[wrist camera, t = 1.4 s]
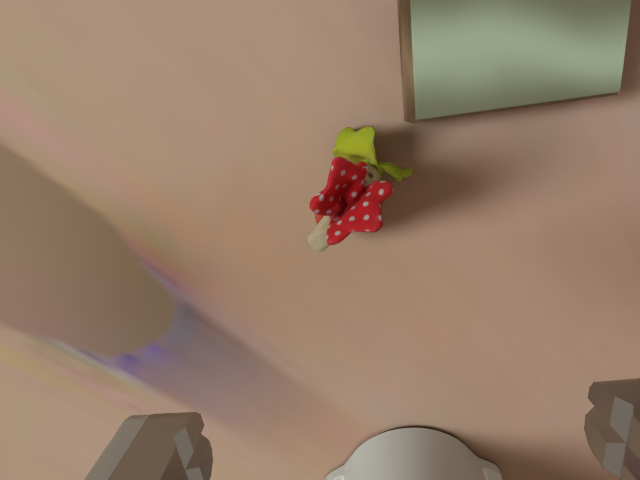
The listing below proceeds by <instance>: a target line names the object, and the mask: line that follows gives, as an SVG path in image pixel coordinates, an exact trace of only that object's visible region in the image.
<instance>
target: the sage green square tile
mask: <svg viewBox="0 0 640 480" xmlns="http://www.w3.org/2000/svg"><path fill="white" fill-rule="evenodd" d="M397 1H398V18H399V36H400V53H401V71H402V88H403V106H404V121H407V122H411V123H417V122H424V121H431V120H439V119H446V118H453V117H460V116H467V115H475V114H482V113H489V112H496V111H504V110H511V109H518V108H525V107H533V106H540V105H547V104H554V103H561V102H569V101H576V100H583V99H590V98H598V97H605V96H612V95H617V93H618V92H620V87H621V79H622V72H623V64H624V56H625V48H626V40H627V32H628V25H629V17H630V9H631V1H632V0H397Z"/></svg>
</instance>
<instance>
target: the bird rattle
mask: <svg viewBox="0 0 640 480" xmlns="http://www.w3.org/2000/svg"><path fill="white" fill-rule="evenodd" d="M375 134H376V131H375V129H374V128H373V127H364V128H362V129H360V130H358V131H357V132H356V131H355V130H354V129H353V128H351V127H347V128H345V129H343V130H342V131H340V133H339V135H338V137H337V140H336V144H335V148H334V149H333V151H332V152H333V154H334V156H335V157H336V158H334V159H333V161H332V164H331V169H330V173H329V177H328V181H327V186H326V187H325V189H324V190H323V191H321V192H320V193H318V194H316V195H315V196H314V197H313V198H312V199H311V201H310V209H311V210H312V211H313V212H314V213H315V219H316V221H317V224H316V226H315V227H314V228H313V230H312V231H311V232H310V234H309V236H308V238H307V243H308V244H309V245H310V246H311V247H312V248H313V249H315V250H316V251H319V252H321V251H323V250H325V249H326V248H327V247H328V246H329V245H335V244H338V243H340V242H341V241H343V240H344V239H345V238H346V237H347V236H348V235H349V234H350V233H351V232H354V231H357V232H376V231H378V230H379V229H380V228H381V227H382V226H383V219H382V202H383V201H384V200H386V199H387V198H388V197H389V196H390V195H391V194H392V193H393V192H394V189H393V188H392V185H391V183H390V182H389V181H380V179H381V173H383V172H385V171H386V172H387V173H388V174H389V175H390V176H391V177H392V178H393V179H394V180H396V181H398V182H401V181H402V178H407V177H409V176H410V175H411V174H413V173H414V170H413V169H412V168H406V169H403V168H402V167H400V166H397V165H393V164H391V163H388V162H377V159H376V154H375V148H374V143H373V142H374V137H375Z"/></svg>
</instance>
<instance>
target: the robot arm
mask: <svg viewBox="0 0 640 480" xmlns="http://www.w3.org/2000/svg"><path fill="white" fill-rule="evenodd" d="M588 399H589V400H590V401H591V402H592V404H593V405H594V407H593V408H592V409H591V410H590V411H589V412H588V413H587V414H586V415H585V425H584V430H585V433H586V437H587V441H588V444H589V446H590V448H591V450H592V452H593V454H594V456H595V457H596V459H597V460H598V461H599V463H600V464H601V466H602V467H603V468H604V469H606V470H608V471H609V472H611V473H612V474H614V475H615V476H617V477H619V478H620V480H640V378H637V379H625V380H613V381H601V382H593V384H592V385H591V386H590V388H589V393H588ZM203 427H204V423H203V420H202V417H201V414H200V413H197V412H185V413H164V414H152V415H132V416H130V417H129V418H127V419H126V420H124V422H123V423H122V425H121V426H120V428H119V429H118V431H117V432H116V434H115V435H114V437H113V438H112V440H111V441H110V443H109V444H108V445H107V447H106V448H105V450H104V451H103V453H102V454H101V456H100V457H99V459H98V460H97V462H96V463H95V465H94V466H93V468H92V469H91V471H90V472H89V474H88V475H87V477H86V478H85V479H84V480H210V477H211V471H212V463H213V456H212V448H211V445H210V441H209V440H208V439H207V438H206V437H204V436H203V435H202V434H201V432H202V430H203ZM326 480H502V476H501V473H500V470H499V468H498V467H497V466H496V465H495V464H493V463H491V462H488V461H486V460H484V459H481V458H478V457H477V456H476V455H474V454H473V453H472V452H471V451H470V450H469V449H468V448H467V446H465V445H464V444H463V443H462V442H461V441H459V440H458V439H456V438H454V437H452V436H450V435H448V434H446V433H443V432H440V431H436V430H432V429H426V428H402V429H396V430H391V431H387V432H384V433H381V434H379V435H377V436H374V437H373V438H371V439H369V440H367V441H366V442H365V443H363V444H362V445H361V446H360V447H359V448H358V449H357V450H356V451H355V452H354V453H353V454H352V456H351V457H350V459H349V460H348V461H347V462H346V463H345V464H344V465H343V466H341V467H339V468H338V469H336V470H334V471H333V472H331V473H330V474H329V475H328V476H327V477H326Z"/></svg>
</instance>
